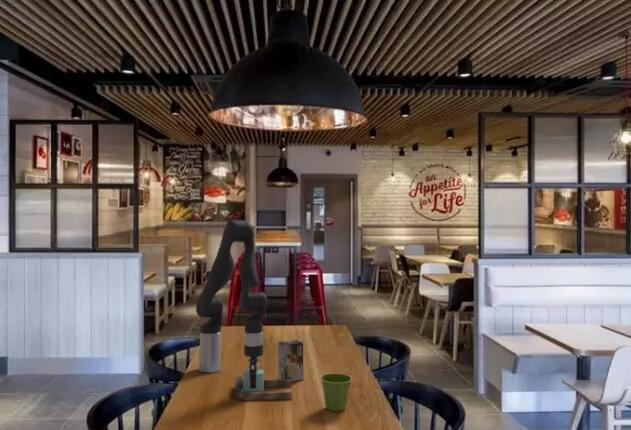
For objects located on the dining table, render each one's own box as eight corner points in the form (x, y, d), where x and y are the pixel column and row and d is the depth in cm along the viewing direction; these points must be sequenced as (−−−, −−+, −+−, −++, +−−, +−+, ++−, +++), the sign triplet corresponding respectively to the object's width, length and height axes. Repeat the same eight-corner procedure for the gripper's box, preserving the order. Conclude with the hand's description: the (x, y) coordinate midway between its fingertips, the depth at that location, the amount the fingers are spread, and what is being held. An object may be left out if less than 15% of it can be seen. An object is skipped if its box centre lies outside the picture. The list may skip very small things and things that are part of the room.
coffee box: (297, 376, 248) (297, 339, 248) (303, 380, 243) (303, 342, 242) (277, 378, 244) (278, 341, 244) (284, 383, 238) (284, 344, 238)
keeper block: (242, 391, 223) (242, 373, 223) (243, 387, 228) (243, 370, 228) (263, 391, 223) (263, 373, 223) (263, 387, 228) (263, 369, 228)
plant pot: (328, 416, 201) (328, 384, 200) (314, 405, 211) (314, 375, 211) (358, 411, 205) (358, 380, 205) (343, 401, 216) (343, 371, 216)
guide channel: (234, 400, 217) (234, 389, 217) (237, 386, 233) (237, 376, 233) (291, 399, 218) (291, 388, 218) (291, 385, 235) (291, 376, 235)
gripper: (245, 339, 232) (245, 380, 233) (242, 347, 218) (242, 391, 218) (263, 338, 233) (263, 380, 233) (262, 347, 218) (262, 391, 219)
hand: (253, 385), depth 226 cm, fingers closed on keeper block, 5 cm apart
